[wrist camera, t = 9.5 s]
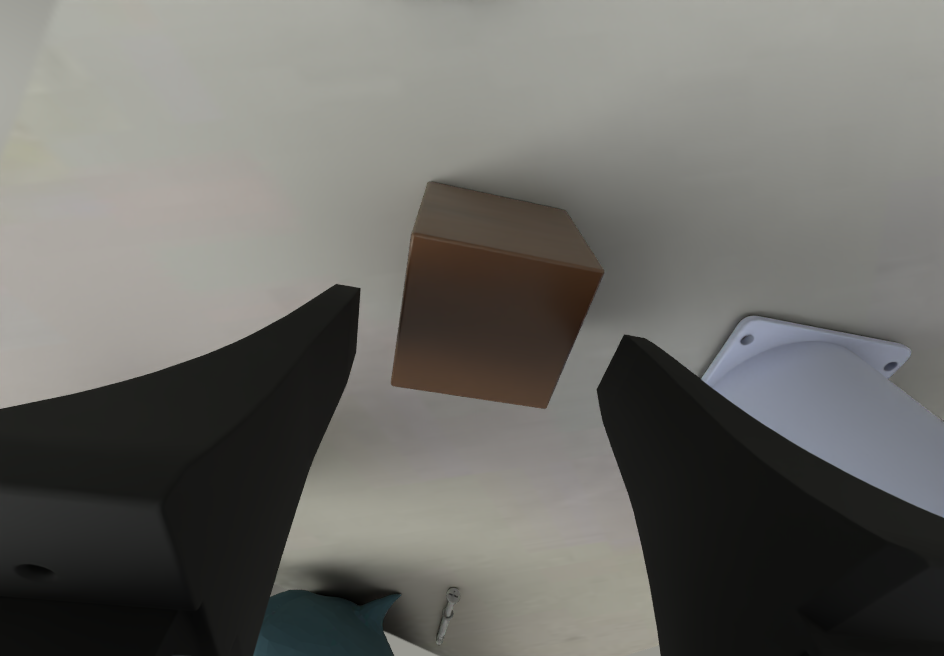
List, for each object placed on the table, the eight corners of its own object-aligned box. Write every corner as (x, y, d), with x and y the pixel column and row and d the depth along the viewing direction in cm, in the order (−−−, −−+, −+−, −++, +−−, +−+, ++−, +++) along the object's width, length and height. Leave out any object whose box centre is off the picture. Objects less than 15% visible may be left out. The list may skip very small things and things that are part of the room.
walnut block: (527, 325, 17) (546, 410, 13) (409, 304, 17) (390, 387, 13) (566, 209, 15) (606, 271, 11) (427, 179, 14) (411, 232, 10)
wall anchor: (462, 590, 30) (457, 605, 29) (446, 637, 35) (442, 651, 34) (449, 585, 30) (444, 600, 29) (435, 632, 35) (431, 646, 34)
